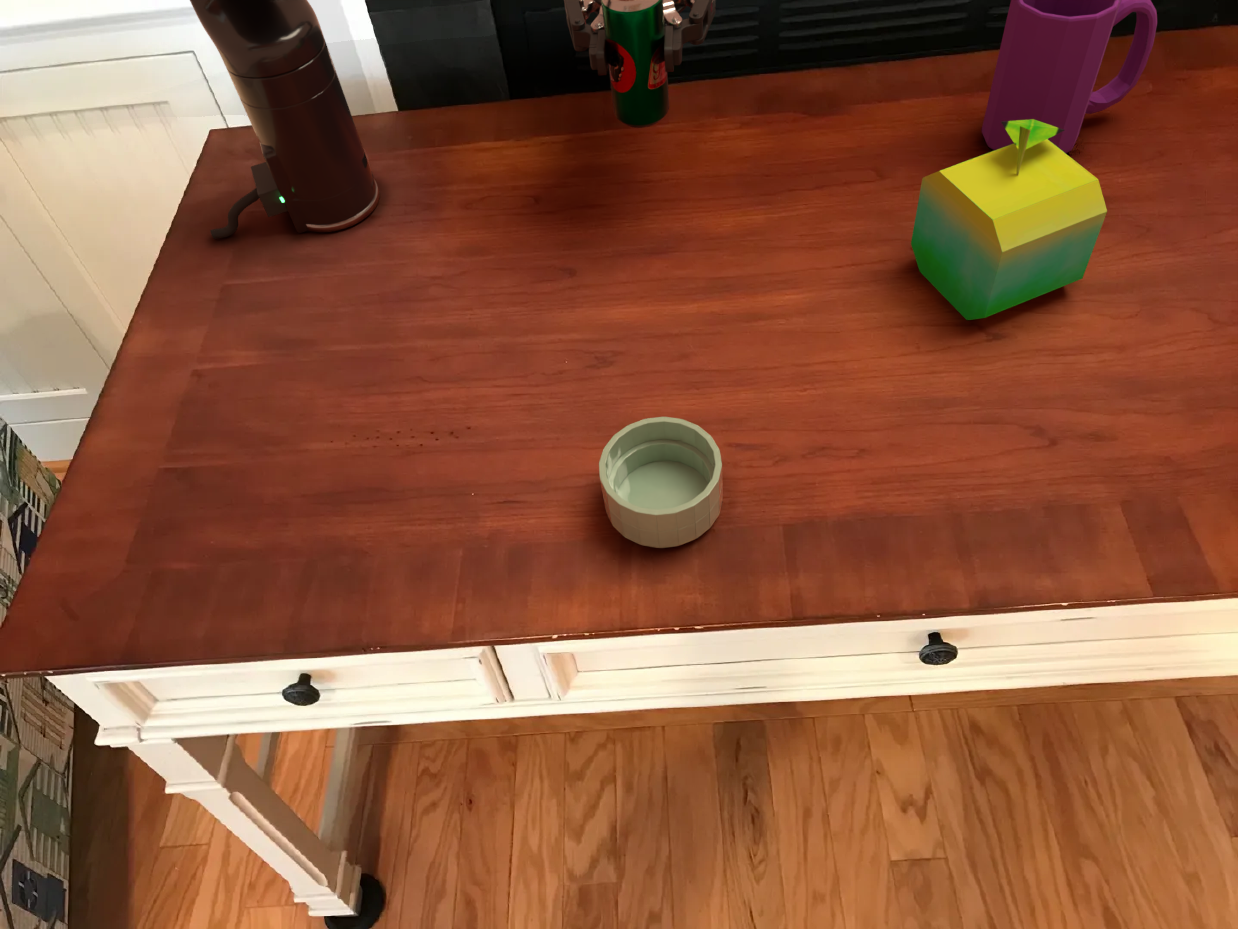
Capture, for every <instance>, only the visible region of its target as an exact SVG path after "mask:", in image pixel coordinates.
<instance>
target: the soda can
mask: <svg viewBox="0 0 1238 929" xmlns="http://www.w3.org/2000/svg"><path fill="white" fill-rule="evenodd" d="M601 4H602V12H603V21H604V30H605V39H606V48H607V57H608V74H609V83H610V84H609V85H610V91H611V92H610V93H611V101H612V109H613V111H612V112H613V115H614V117H615V118H616V119H617V120H618V121H619V122H620V123H622V124H623V125H625V126H627V127H629V128H633V129H634V128H636V129H643V128H649V127H652V126H655V125H657V124H659V123H660V122H661V121H662V120H664V118H665V117H666V115H667V114H668V113H669V110H670V92H669V77H668V74H669V73H668V72H665V57H664V40H665V25H664V8H663V0H601Z"/></svg>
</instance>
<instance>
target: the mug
mask: <svg viewBox="0 0 1238 929" xmlns="http://www.w3.org/2000/svg"><path fill="white" fill-rule="evenodd" d="M1133 12H1134V13H1136V23H1135V28H1134V32H1133V37H1132V41H1131V43H1130V46H1129V49H1128V52H1127V54H1126V57H1125V60H1124V62H1123V64H1122V65H1121V67H1120V70H1119V72H1118V74H1117V75H1115V76H1114V78H1112V79H1111V80H1110V81H1109V82H1108V83H1107V84H1106V85H1104V86H1102V87H1100V88H1099V89H1097V90H1096V91H1093V90H1094V88H1095V84H1096V82H1097V78H1098V74H1099V71H1100V68H1101V65H1102V62H1103V60H1104V55H1105V53H1106V49H1107V46H1108V43H1109V41H1110V37H1111V33H1112V30H1113V27H1114V26H1116V25H1117V24H1118V23H1120V22H1121V21H1123V20H1124V19H1125V18H1126V17H1127V16H1129V15H1130V14H1131V13H1133ZM1157 12H1158V11H1157V9H1156V7H1155V5H1154V3H1153V2H1152V0H1010V4H1009V9H1008V12H1007V17H1006V19H1005V20H1006V21H1005V25H1004V30H1003V34H1002V39H1001V42H1000V46H999V52H998V56H997V60H996V64H995V69H994V74H993V77H992V82H991V87H990V90H989V95H988V100H987V103H986V104H987V105H986V108H985V113H984V117H983V121H982V126H981V134H982V136H983V138H984V140H985V141H984V142H985V143H986V145H987V147H989V149H992V151H995V150H997V149H1000V148H1003V147H1005V146H1008V145H1011V144H1014V142H1013V141H1012V139H1011V137H1010V136H1009V134H1008V132H1007V131H1006V129H1005V128H1004V126H1003V124H1002V123H1001V122H1002V121H1016V120H1030V119H1034V120H1037V121H1040V122H1043V123H1046V124H1049V125H1052V126H1055V127H1058V128H1061V129H1064V131H1062V132H1060V133H1058V134H1056V135H1054V136H1052V137H1050V138H1048V140H1049V141H1050V142H1052V143H1053V144H1054V145H1055V146H1057V147H1058V148H1059V149H1060V150H1062V151H1063V152H1064V153H1066V154H1067V153H1069V152H1071V151H1072V150H1073V148H1074V147H1075V144H1076V142H1077V140H1078V137H1079V136H1080V132H1081V128H1082V125H1083V122H1084V119H1085V115H1086V114H1088V115H1092V114H1096V113H1099V112H1102V111H1105V110H1107V109H1108V108H1111V107H1112V106H1114V105H1115V104H1118V103H1119V102H1121V101H1122V100H1123V99H1124V98H1125V97H1126V96H1127V95H1128V94H1129V93H1130V92H1131V90H1133V89H1134V88H1135V87H1136V85H1137V83H1138V82H1139V80H1140V78H1141V76H1142V74H1143V72H1144V70H1145V69H1146V66H1147V63H1148V60H1149V57H1150V55H1151V53H1152V49H1153V47H1154V43H1155V38H1156V32H1157V27H1158V14H1157Z"/></svg>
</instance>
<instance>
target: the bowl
mask: <svg viewBox="0 0 1238 929" xmlns="http://www.w3.org/2000/svg"><path fill="white" fill-rule="evenodd" d="M598 473H599V474H598V475H599V482H600V486H601V493H602V498H603V503H604V508H605V512H606V515H607V517H608V519H609V521H610V523H611V525H612V527H613V528H614V529H615V530H616V531H617V532H618V533H620V535H622V537H624V538H625V539H626V540H629V541H631V542H634V543H635V544H638V545H640V546H642V547H643V546H645V547H650V548H656V549H665V548H673V547H675V548H676V547H679V546H682V545H684V544H687V543H689V542H692V541H694V540H696V539H699V538H700V537H701V536H703V534H705V533H706V532H708V531H709V530H710V528H712V527H713V525H714V523H715V521H717V519H718V517H719V516H720V514H721V511H722V510H721V509H722V506H723V501H724V491H723V490H724V488H723V487H724V486H723V461H722V455H721V450H720V448H719V446H718V444H717V442H716V441H715V440H714V438H713V436H712V435H711V434H710V433H708V432H707V431H706V430H704V428H702V427H701V426H699V425H698V424H696V423H693V422H692V421H691V422H690V421H688V420H686V419H683V418H680V417H679V418H678V417H670V416H656V417H655V416H654V417H648V418H647V417H646V418H643V419H640V420H638V421H635V422H632V423H630V424H627V425H626V426H624V427H623V428H622V429H620V430H618V431H617V432H616V433H615V434H614V435H612V437H610V439H609V441H608V442H607V443H606V445H605V446H604V447H603V450H602V452H601V456H600V458H599V460H598Z"/></svg>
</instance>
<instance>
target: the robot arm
mask: <svg viewBox="0 0 1238 929" xmlns="http://www.w3.org/2000/svg"><path fill="white" fill-rule="evenodd" d="M189 2H190V5H191V6H192V8H193V11H194V12H195V14H196V16H197V19H198V21H199V22H200V24H201V26H202V27H203V29H204V30H205V32H206V34H207V35H208V37H209V38H210V40H211V41H212V43H213V45H214V46H215V49H217V52H218V54H219V56H220V58H221V60H222V62H223V64H224V67H225V68H226V71H227V73H228V76H229V77H230V80H231V82H232V84H233V86H234V89H235V90H236V93H237V95H238V97H239V100H240V102H241V104H242V106H243V109H244V111H245V113H246V115H247V117H248V120H249V122H250V125H251V127H252V129H253V131H254V134H255V135H256V138H257V140H258V144H259V146H260V150H261V153H262V157H263V159H264V162H261V163H258V164H255V165H251V166H250V170H251V174H252V177H253V182H254V185H255V188H253V190H251V191H250V192H248V193H247V194H245V195H243V196H242V197H241V198H240V199H238V200H237V201H236V202H235V203H234V204H233V205H232V206H231V207H230V209H229V210H228V213H227V225H225V226H224V227H219V228H213V229H209V232H210V235H211V237H212V239H213V240H217V239H222V238H227V237H230V236H232V235H234V234H235V233H236V232H237V230H238V228H239V217H240V216H241V214H242V212H243V211H245V209H247V208H248V207H249V206H251V205H252V204H253V203H256V201H258V200H260V202H261V204H262V207H263V208H264V211H265V212H266V216H267V217H268V218H271V217H274V216H277V215H280V214H283V213H286V212H288V214H289V217H290V219H291V221H292V223H293V226H294V228H295V230H296V232H297V234H302V233H306V232H313V233H332V232H336V231H341V230H344V229H347V228H350V227H353V226H355V225H356V224H359V223H360V222H362V221H363V220H364V219H367V217H368V216H370V215H371V213H372V212H374V210H375V209H376V207H377V206H378V204H379V201H380V197H381V193H380V190H379V186H378V184H377V183H378V182H377V181H376V180H375V176H374V174H373V171H372V169H371V165H370V163H369V162H370V160H369V157H368V156H367V154H366V151H365V148H364V147H363V146H364V145H363V144H362V141H361V138H360V135H359V133H358V129H357V127H356V123H355V121H354V118H353V116H352V113H351V110H350V108H349V104H348V101H347V98H346V96H345V92H344V90H343V87H342V85H341V84H342V83H341V81H340V79H339V76H338V73H337V70H336V68H335V63H334V62H333V59H332V56H331V53H330V50H329V47H328V45H327V42H326V39H325V37H324V33H323V30H322V27H321V24H320V22H319V19H318V17H317V14H316V12H315V10H314V8H313V7H312V5H311V4H310V2H309V0H189ZM563 2H564V10H565V17H566V24H567V27H568V30H569V34H570V39H571V42H572V45H573V49H574V51H576V52H585V51H587V50H588V56H589V64H590V69H591V70H592V71H597V75H598V76H608V75H607V74H608V68H609V66H608V57H607V48H606V39H605V30H604V21H603V12H602V4H601V0H563ZM687 7H689V8H690V12H689V14H688V18H682V16H681V15H680V14H681V13H682V12H683V11H685V9H686V8H687ZM663 8H664V25H665V40H664V57H665V72H667V73H670V72H671V73H672V72H675V66H680V65H681V64H682V62H683V48H684V45H685V44H686V43H690V44H691V45H693V46H700V45H703V43H704V42H705V39H706V37H707V34H708V32H709V29H710V27H711V26H712V25H711V24H712V22H713V20H714V18H715V15H716V0H663ZM592 13H595V15H596V17H595V18H594V20H593V21H592V22H591V24H588V23H587V20H588V19H589V18H590V15H591V14H592Z"/></svg>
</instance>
